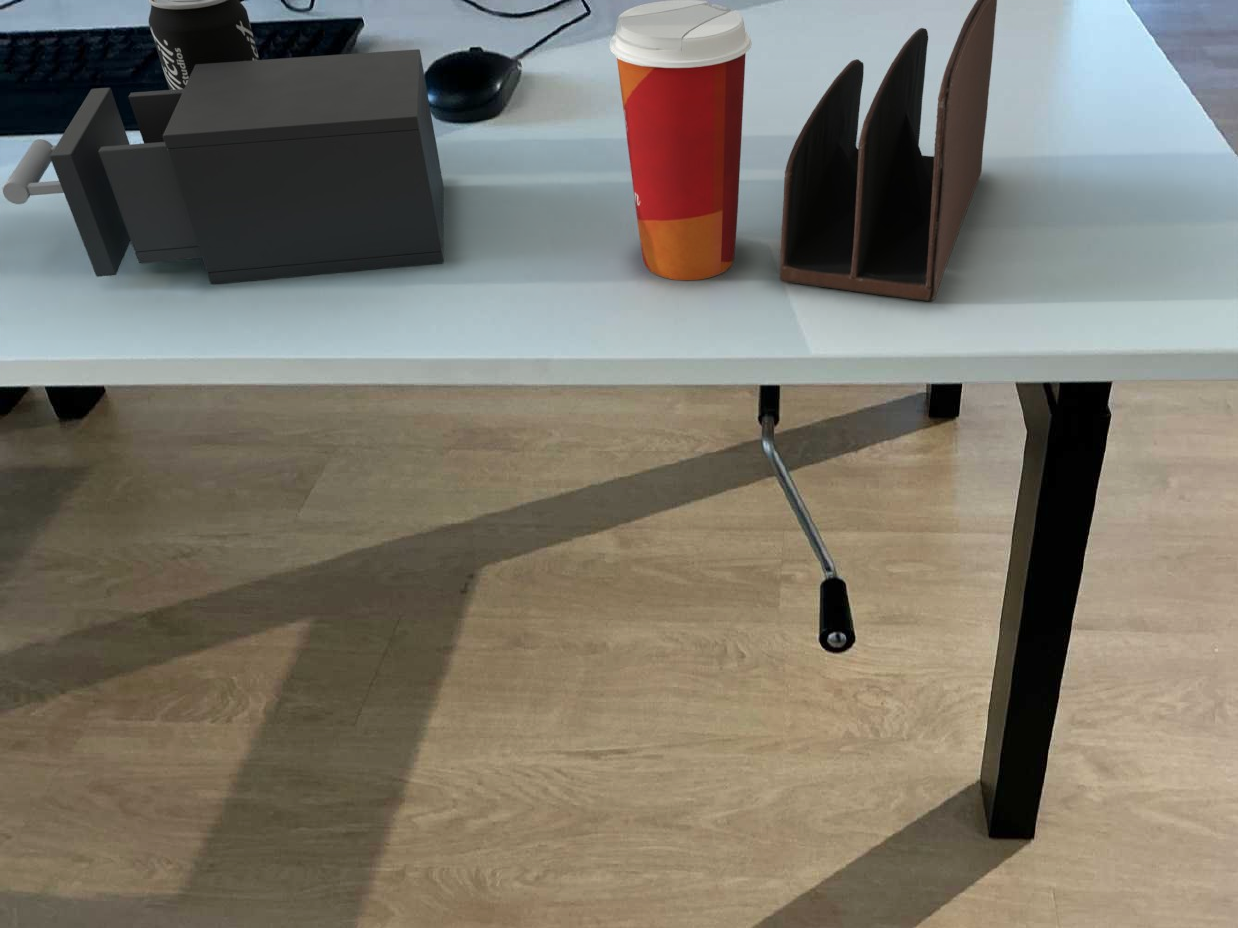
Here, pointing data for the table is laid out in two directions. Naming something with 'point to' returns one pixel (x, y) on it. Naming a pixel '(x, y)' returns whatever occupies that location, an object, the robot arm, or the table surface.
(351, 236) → the cabinet
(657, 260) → the coffee cup
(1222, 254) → the table surface
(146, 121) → the drawer
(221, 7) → the beverage can
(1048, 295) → the table surface
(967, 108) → the letter holder
